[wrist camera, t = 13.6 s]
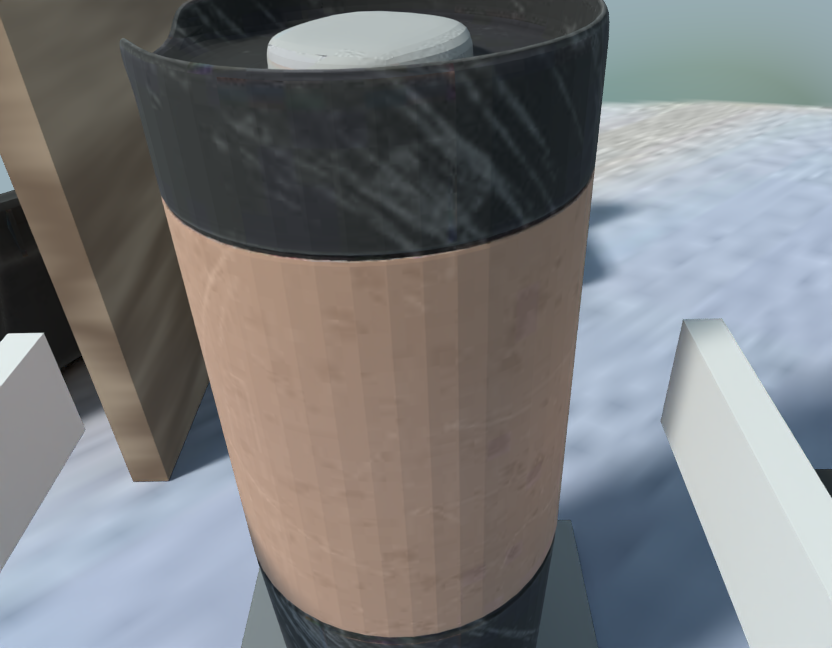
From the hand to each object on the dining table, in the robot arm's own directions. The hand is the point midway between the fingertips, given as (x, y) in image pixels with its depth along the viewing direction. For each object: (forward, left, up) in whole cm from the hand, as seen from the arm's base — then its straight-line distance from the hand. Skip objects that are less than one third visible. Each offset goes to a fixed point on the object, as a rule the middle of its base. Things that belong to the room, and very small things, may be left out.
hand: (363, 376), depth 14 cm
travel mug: (-1, -1, -13) cm, 13 cm away
